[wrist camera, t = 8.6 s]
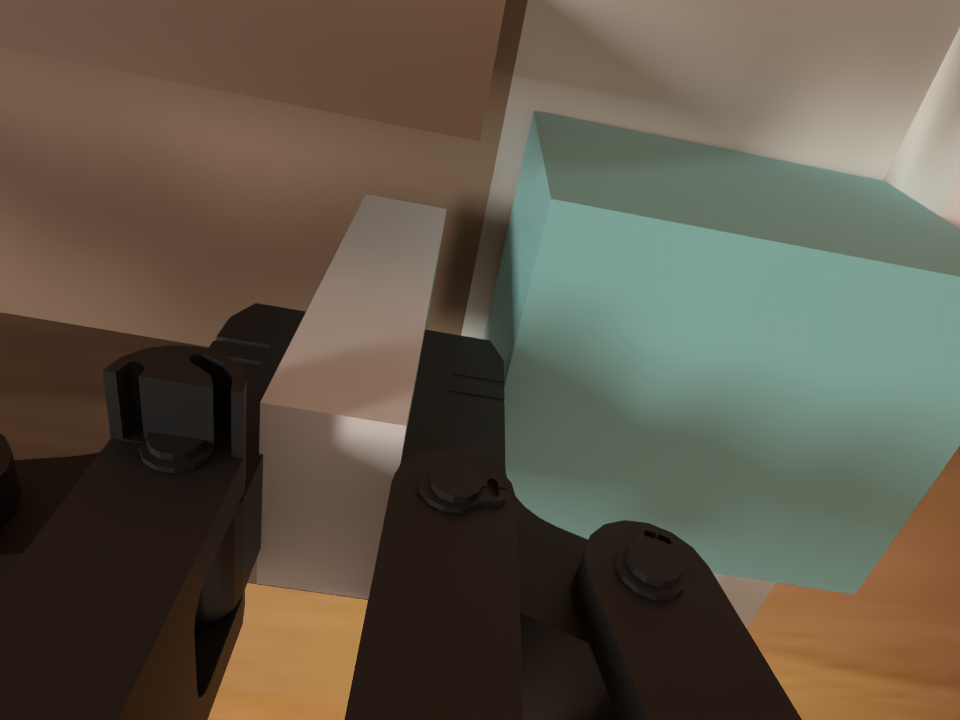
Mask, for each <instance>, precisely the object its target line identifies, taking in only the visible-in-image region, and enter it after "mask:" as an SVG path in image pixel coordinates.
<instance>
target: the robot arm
mask: <svg viewBox="0 0 960 720" xmlns="http://www.w3.org/2000/svg"><path fill="white" fill-rule="evenodd" d="M446 210H447V209H444V208H439V207H433V206H428V205H422V204H417V203H411V202H406V201H401V200H395V199H390V198H384V197H379V196H374V195H368V194H366V195H365V197H364V199H363V201H362V203H361V205H360V207H359V209H358V210H357V212H356V214H355V216H354V218H353V220H352V222H351V224H350V226H349V228H348V230H347V232H346V234H345V236H344V238H343V240H342V242H341V244H340V246H339V248H338V250H337V252H336V254H335V256H334V258H333V260H332V262H331V264H330V266H329V268H328V270H327V272H326V274H325V276H324V278H323V280H322V282H321V284H320V286H319V287H318V289H317V291H316V293H315V295H314V297H313V299H312V301H311V303H310V305H309V307H308V309H307V311H300V310H294V309H288V308H282V307H277V306H271V305H265V304H259V303H255V304H253V305H251V306H249V307H247V308H246V309H244V310H242V311H240V312H238V313H236V314H235V315H233V316H231V317H230V318H229V319H228V321H227V322H226V323H225V325H224V326H223V328H222V329H221V331H220V332H219V333H218V335H217V336H216V341H213V342H212V343H211V345H210V346H209V348H208V349H206V348H203V347H199V346H182V345H168V346H160V347H153V348H145V349H142V350H139V351H137V352H134V353H131V354H128V355H125V356H123V357H120V358H119V359H117V360H116V361H115V362H113V363H112V364H110V365H109V366H108V367H106V368H105V369H104V370H102V371H103V379H104V387H105V395H106V404H107V412H108V420H109V428H110V436H111V439H110V440H109V441H108V443H107V444H106V445H105V447H104V448H103V449H102V450H101V452H97V453H93V454H86V455H78V456H70V457H54V458H39V459H23V460H14V458H13V453H12V450H11V448H10V446H9V444H8V441H7V439H6V437H5V436H4V435H2V434H0V720H207V719H208V716H209V714H210V711H211V708H212V706H213V703H214V700H215V697H216V695H217V692H218V689H219V686H220V684H221V681H222V678H223V676H224V673H225V670H226V667H227V665H228V662H229V659H230V657H231V654H232V651H233V648H234V646H235V643H236V640H237V637H238V635H239V632H240V629H241V627H242V624H243V616H244V608H245V588H246V585H247V582H248V580H249V577H250V575H251V572H252V569H253V567H254V564H255V562H256V559H257V578H256V584H263V585H270V586H277V587H284V588H291V589H298V590H306V591H313V592H320V593H327V594H334V595H341V596H348V597H356V598H363V599H368V604H367V609H366V614H365V619H364V624H363V629H362V635H361V640H360V645H359V650H358V655H357V660H356V665H355V670H354V675H353V680H352V685H351V690H350V695H349V700H348V706H347V711H346V716H345V720H802V719H801V718H800V716H799V715H798V713H797V711H796V710H795V708H794V706H793V705H792V703H791V701H790V700H789V698H788V696H787V695H786V693H785V691H784V690H783V688H782V686H781V685H780V683H779V681H778V680H777V678H776V677H775V675H774V673H773V672H772V670H771V668H770V667H769V665H768V663H767V662H766V660H765V658H764V657H763V655H762V653H761V652H760V650H759V648H758V647H757V645H756V643H755V642H754V640H753V639H752V637H751V635H750V634H749V632H748V630H747V629H746V627H745V625H744V624H743V622H742V620H741V619H740V617H739V615H738V614H737V612H736V610H735V609H734V607H733V605H732V604H731V602H730V601H729V599H728V597H727V596H726V594H725V592H724V591H723V589H722V587H721V586H720V584H719V582H718V581H717V579H716V577H715V576H714V574H713V572H712V571H711V569H710V567H709V566H708V565H707V564H706V562H705V561H704V560H703V559H702V558H701V556H700V555H699V554H698V553H697V552H696V550H695V549H694V548H693V547H692V546H690V545H689V544H687V543H686V542H685V541H683V540H682V539H680V538H679V537H677V536H676V535H675V534H673V533H672V532H669V531H667V530H664V529H662V528H659V527H657V526H654V525H652V524H649V523H645V522H636V521H628V520H622V521H618V522H613V523H608V524H604V525H603V526H601V527H600V528H599V529H598V530H596V531H595V532H594V533H592V534H591V535H590V537H589V540H588V539H586V538H583V537H581V536H578V535H576V534H573V533H571V532H569V531H566V530H564V529H561V528H559V527H556V526H554V525H553V524H551V523H549V522H547V521H545V520H543V519H541V518H539V517H538V516H536V515H535V514H534V513H532V512H531V511H530V510H529V509H527V508H526V507H525V506H524V505H523V504H522V503H521V502H520V501H519V499H518V498H517V497H516V496H515V492H514V489H513V486H512V483H511V482H510V480H509V479H508V478H507V475H506V468H505V404H504V399H505V398H504V360H503V359H502V357H501V356H500V354H499V353H498V351H497V350H496V348H495V347H494V345H493V344H492V342H491V341H490V340H484V339H478V338H473V337H467V336H461V335H455V334H449V333H443V332H437V331H432V330H427V325H428V319H429V313H430V307H431V301H432V295H433V289H434V283H435V277H436V271H437V265H438V259H439V252H440V246H441V240H442V234H443V228H444V222H445V216H446Z"/></svg>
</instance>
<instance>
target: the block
mask: <svg viewBox="0 0 960 720" xmlns="http://www.w3.org/2000/svg"><path fill="white" fill-rule="evenodd" d="M483 339H484V340H490V341H491V342H492V344H493V345H494V347H495V348H496V350H497V351H498V353H499V354H500V356H501V357H502V359H503V360H504V398H505V399H504V404H505V468H506V475H507V478H508V479H509V480H510V482H511V483H512V486H513V489H514V492H515V496H516V497H517V498H518V499H519V501H520V502H521V503H522V504H523V505H524V506H525V507H526V508H527V509H529V510H530V511H531V512H532V513H534V514H535V515H536V516H538V517H539V518H541V519H543V520H545V521H547V522H549V523H551V524H553V525H554V526H556V527H559V528H561V529H564V530H566V531H569V532H571V533H573V534H576V535H578V536H581V537H583V538H586V539H588V540H589V537H590V535H591V534H592V533H594V532H595V531H596V530H598V529H599V528H600V527H601V526H603V525H604V524H608V523H613V522H618V521H622V520H628V521H636V522H645V523H649V524H652V525H654V526H657V527H659V528H662V529H664V530H667V531H669V532H672V533H673V534H675V535H676V536H677V537H679V538H680V539H682V540H683V541H685V542H686V543H687V544H689V545H690V546H692V547H693V548H694V549H695V550H696V552H697V553H698V554H699V555H700V556H701V558H702V559H703V560H704V561H705V562H706V564H707V565H708V566H709V567H710V569H711V571H712V572H713V573H716V574H723V575H729V576H736V577H743V578H749V579H756V580H763V581H769V582H776V583H783V584H789V585H796V586H803V587H809V588H816V589H822V590H829V591H836V592H842V593H849V594H855V593H856V592H857V591H858V589H859V588H860V586H861V585H862V583H863V582H864V581H865V579H866V578H867V576H868V575H869V574H870V572H871V571H872V569H873V568H874V566H875V565H876V564H877V562H878V561H879V559H880V558H881V557H882V555H883V554H884V552H885V551H886V549H887V548H888V547H889V545H890V544H891V542H892V541H893V540H894V538H895V537H896V535H897V534H898V532H899V531H900V530H901V528H902V527H903V525H904V524H905V523H906V521H907V520H908V518H909V517H910V515H911V514H912V513H913V511H914V510H915V508H916V507H917V506H918V504H919V503H920V501H921V500H922V498H923V497H924V496H925V494H926V493H927V491H928V490H929V489H930V487H931V486H932V484H933V483H934V481H935V480H936V479H937V477H938V476H939V474H940V473H941V472H942V470H943V469H944V467H945V466H946V464H947V463H948V462H949V460H950V459H951V457H952V456H953V455H954V453H955V452H956V450H957V449H958V447H959V446H960V229H959V228H957V227H956V226H954V225H953V224H951V223H949V222H948V221H946V220H945V219H943V218H942V217H940V216H939V215H937V214H936V213H934V212H932V211H931V210H929V209H928V208H926V207H925V206H923V205H922V204H920V203H918V202H917V201H915V200H914V199H912V198H911V197H909V196H908V195H906V194H904V193H903V192H901V191H900V190H898V189H897V188H895V187H894V186H892V185H891V184H889V183H887V182H886V181H881V180H876V179H871V178H866V177H861V176H856V175H851V174H846V173H841V172H836V171H831V170H826V169H821V168H816V167H811V166H806V165H802V164H797V163H792V162H787V161H782V160H777V159H772V158H767V157H762V156H757V155H752V154H747V153H742V152H737V151H732V150H727V149H722V148H717V147H712V146H707V145H702V144H697V143H692V142H687V141H682V140H677V139H672V138H667V137H662V136H657V135H652V134H647V133H642V132H637V131H632V130H627V129H622V128H617V127H612V126H607V125H602V124H597V123H592V122H587V121H582V120H577V119H572V118H567V117H562V116H557V115H552V114H547V113H542V112H537V111H533V115H532V120H531V124H530V129H529V133H528V138H527V143H526V147H525V152H524V156H523V161H522V165H521V170H520V174H519V179H518V184H517V188H516V193H515V197H514V202H513V206H512V211H511V215H510V220H509V225H508V229H507V234H506V238H505V243H504V247H503V252H502V256H501V261H500V266H499V270H498V275H497V279H496V284H495V288H494V293H493V297H492V302H491V307H490V311H489V316H488V320H487V325H486V329H485V334H484V338H483Z"/></svg>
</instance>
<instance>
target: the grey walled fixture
mask: <svg viewBox="0 0 960 720" xmlns="http://www.w3.org/2000/svg"><path fill="white" fill-rule="evenodd" d="M533 111H537V112H542V113H547V114H552V115H557V116H562V117H567V118H572V119H577V120H582V121H587V122H592V123H597V124H602V125H607V126H612V127H617V128H622V129H627V130H632V131H637V132H642V133H647V134H652V135H657V136H662V137H667V138H672V139H677V140H682V141H687V142H692V143H697V144H702V145H707V146H712V147H717V148H722V149H727V150H732V151H737V152H742V153H747V154H752V155H757V156H762V157H767V158H772V159H777V160H782V161H787V162H792V163H797V164H802V165H806V166H811V167H816V168H821V169H826V170H831V171H836V172H841V173H846V174H851V175H856V176H861V177H866V178H871V179H876V180H881V181H886V182H887V183H889V184H891V185H892V186H894V187H895V188H897V189H898V190H900V191H901V192H903V193H904V194H906V195H908V196H909V197H911V198H912V199H914V200H915V201H917V202H918V203H920V204H922V205H923V206H925V207H926V208H928V209H929V210H931V211H932V212H934V213H936V214H937V215H939V216H940V217H942V218H943V219H945V220H946V221H948V222H949V223H951V224H953V225H954V226H956V227H957V228H959V229H960V0H0V434H2V435H4V436H5V437H6V439H7V441H8V444H9V446H10V448H11V450H12V453H13V458H14V460H23V459H39V458H54V457H70V456H78V455H86V454H93V453H97V452H101V450H102V449H103V448H104V447H105V445H106V444H107V443H108V441H109V440H110V439H111V436H110V428H109V420H108V412H107V404H106V395H105V387H104V379H103V371H102V370H104V369H105V368H106V367H108V366H109V365H110V364H112V363H113V362H115V361H116V360H117V359H119V358H120V357H123V356H125V355H128V354H131V353H134V352H137V351H139V350H142V349H145V348H153V347H160V346H168V345H182V346H199V347H203V348H206V349H208V348H209V346H210V345H211V343H212V342H213V341H216V336H217V335H218V333H219V332H220V331H221V329H222V328H223V326H224V325H225V323H226V322H227V321H228V319H229V318H230V317H231V316H233V315H235V314H236V313H238V312H240V311H242V310H244V309H246V308H247V307H249V306H251V305H253V304H255V303H259V304H265V305H271V306H277V307H282V308H288V309H294V310H300V311H307V309H308V307H309V305H310V303H311V301H312V299H313V297H314V295H315V293H316V291H317V289H318V287H319V286H320V284H321V282H322V280H323V278H324V276H325V274H326V272H327V270H328V268H329V266H330V264H331V262H332V260H333V258H334V256H335V254H336V252H337V250H338V248H339V246H340V244H341V242H342V240H343V238H344V236H345V234H346V232H347V230H348V228H349V226H350V224H351V222H352V220H353V218H354V216H355V214H356V212H357V210H358V209H359V207H360V205H361V203H362V201H363V199H364V197H365V195H366V194H368V195H374V196H379V197H384V198H390V199H395V200H401V201H406V202H411V203H417V204H422V205H428V206H433V207H439V208H444V209H447V210H446V216H445V222H444V228H443V234H442V240H441V246H440V252H439V259H438V265H437V271H436V277H435V283H434V289H433V295H432V301H431V307H430V313H429V319H428V325H427V330H432V331H437V332H443V333H449V334H455V335H461V336H467V337H473V338H478V339H483V338H484V334H485V329H486V325H487V320H488V316H489V311H490V307H491V302H492V297H493V293H494V288H495V284H496V279H497V275H498V270H499V266H500V261H501V256H502V252H503V247H504V243H505V238H506V234H507V229H508V225H509V220H510V215H511V211H512V206H513V202H514V197H515V193H516V188H517V184H518V179H519V174H520V170H521V165H522V161H523V156H524V152H525V147H526V143H527V138H528V133H529V129H530V124H531V120H532V115H533ZM713 574H714V576H715V577H716V579H717V581H718V582H719V584H720V586H721V587H722V589H723V591H724V592H725V594H726V596H727V597H728V599H729V601H730V602H731V604H732V605H733V607H734V609H735V610H736V612H737V614H738V615H739V617H740V619H741V620H742V622H743V624H744V625H745V627H746V629H747V630H748V628H749V626H750V625H751V623H752V621H753V620H754V618H755V616H756V615H757V613H758V611H759V610H760V608H761V606H762V605H763V603H764V602H765V600H766V598H767V597H768V595H769V593H770V592H771V590H772V588H773V587H774V585H775V583H776V582H769V581H763V580H756V579H749V578H743V577H736V576H729V575H723V574H716V573H713ZM256 578H257V559H256V562H255V564H254V567H253V569H252V572H251V575H250V577H249V580H248V582H247V583H252V584H256ZM259 585H263V584H259ZM266 586H270V585H266ZM273 587H277V586H273ZM280 588H284V587H280ZM287 589H291V588H287ZM294 590H298V589H294ZM302 591H306V590H302ZM309 592H313V591H309ZM316 593H320V592H316ZM323 594H327V593H323ZM330 595H334V594H330ZM337 596H341V595H337ZM344 597H348V596H344ZM351 598H356V597H351ZM358 599H363V598H358ZM365 600H368V599H365Z"/></svg>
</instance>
